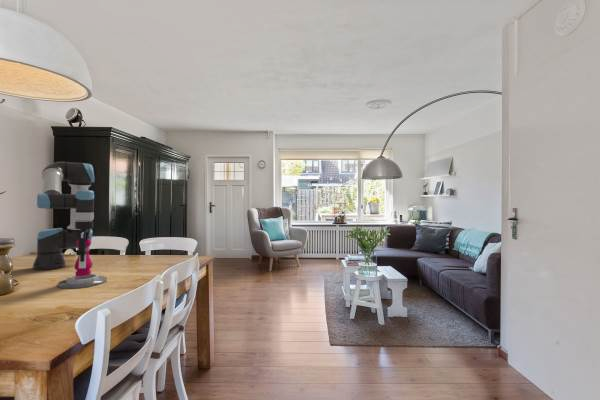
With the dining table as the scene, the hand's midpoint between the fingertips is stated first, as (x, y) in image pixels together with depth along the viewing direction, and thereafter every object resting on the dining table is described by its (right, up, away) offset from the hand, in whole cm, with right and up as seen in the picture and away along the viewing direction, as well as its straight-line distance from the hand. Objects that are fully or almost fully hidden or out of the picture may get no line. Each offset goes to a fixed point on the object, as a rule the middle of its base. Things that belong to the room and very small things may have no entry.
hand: (83, 266), depth 149 cm
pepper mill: (0, -4, 0) cm, 4 cm away
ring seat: (0, -8, 0) cm, 8 cm away
